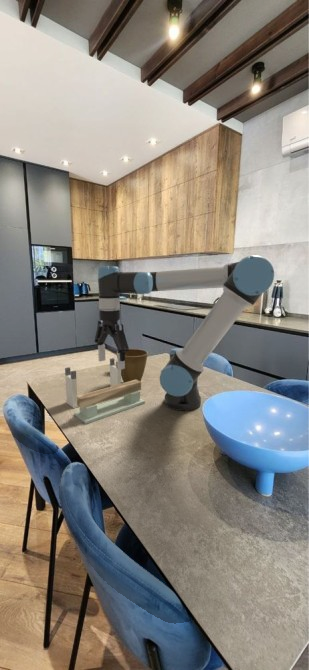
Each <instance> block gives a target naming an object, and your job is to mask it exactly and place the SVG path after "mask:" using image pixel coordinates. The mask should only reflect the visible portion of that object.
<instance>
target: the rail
mask: <svg viewBox="0 0 309 670" xmlns="http://www.w3.org/2000/svg"><path fill="white" fill-rule="evenodd" d="M141 390H142V381H141V382H140V381H138V380H132V381H129V382H125V383H124V382H121V384H118V385H115V386H111V387H110V386H109V387H108V386H107V387H104V388H101V389H97V390H94V391H91V392H86V393H83V394H80V395H77V405H78V406H79V407H78V408H79V409H80V408H85V407H88V406H91V405H94V404H96V405H98V404H101V403H105V402H108V401H111V400H114V399H117V398H121V397H124V395H126V394H129V393H132V392H135V391H141Z"/></svg>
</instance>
